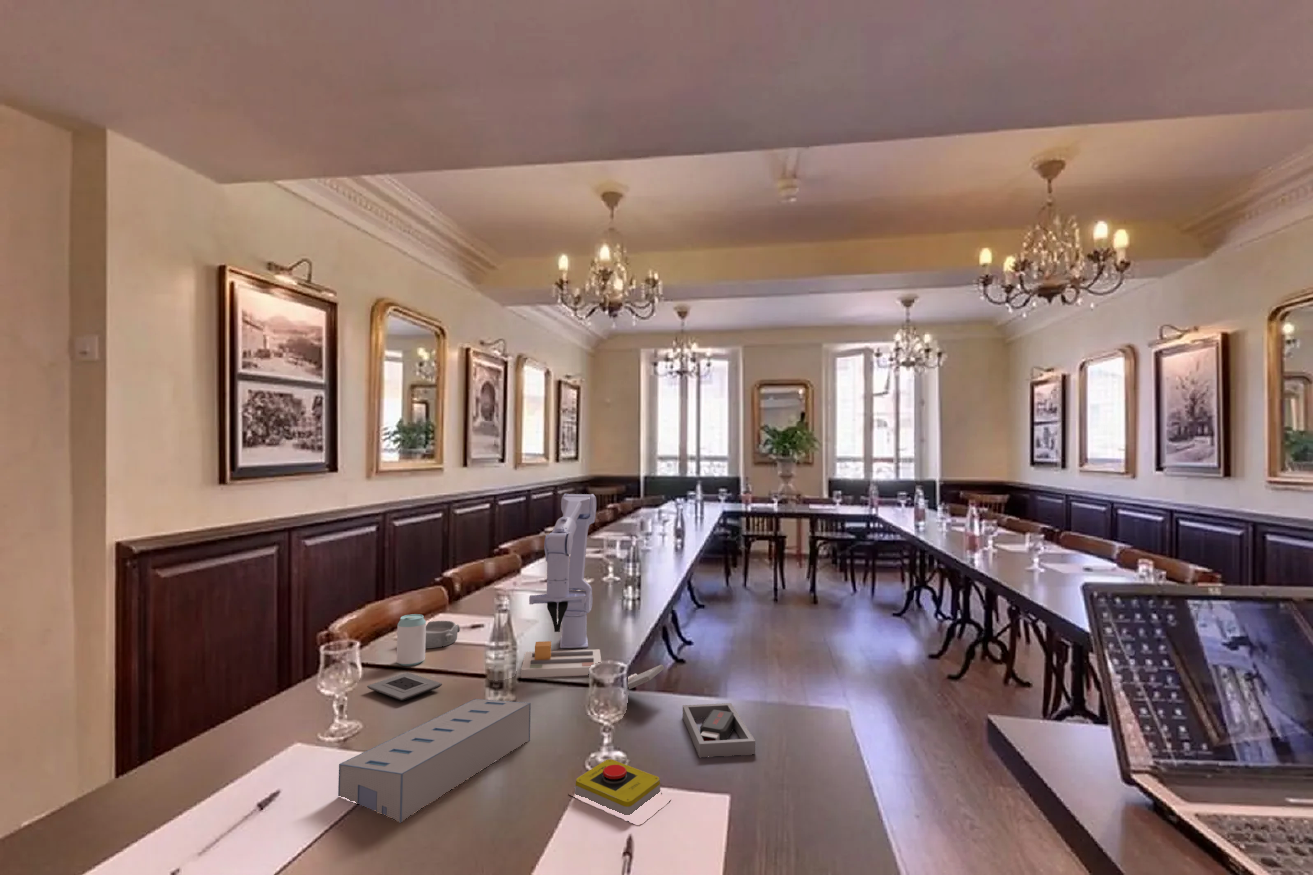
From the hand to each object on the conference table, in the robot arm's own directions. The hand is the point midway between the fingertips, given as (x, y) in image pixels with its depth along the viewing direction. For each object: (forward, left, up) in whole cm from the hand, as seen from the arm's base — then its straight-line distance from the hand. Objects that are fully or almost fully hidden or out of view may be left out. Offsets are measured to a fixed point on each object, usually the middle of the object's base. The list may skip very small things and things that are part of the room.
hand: (557, 630), depth 158 cm
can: (-8, -39, -10) cm, 40 cm away
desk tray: (+43, +32, -9) cm, 55 cm away
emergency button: (+63, +12, -10) cm, 65 cm away
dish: (-25, -37, -10) cm, 45 cm away
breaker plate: (0, +1, -9) cm, 9 cm away
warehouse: (+49, -18, -10) cm, 54 cm away
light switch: (+24, +17, -10) cm, 31 cm away
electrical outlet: (+13, -35, -10) cm, 38 cm away
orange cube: (0, -4, -7) cm, 8 cm away
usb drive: (+43, +32, -9) cm, 55 cm away
